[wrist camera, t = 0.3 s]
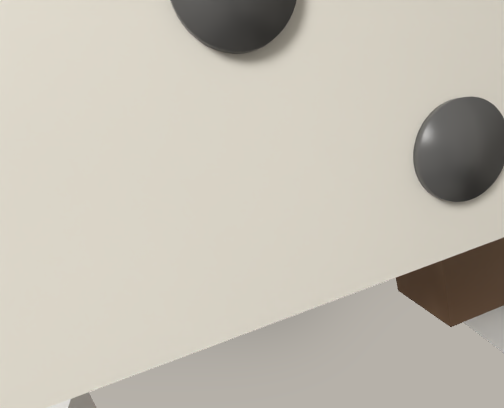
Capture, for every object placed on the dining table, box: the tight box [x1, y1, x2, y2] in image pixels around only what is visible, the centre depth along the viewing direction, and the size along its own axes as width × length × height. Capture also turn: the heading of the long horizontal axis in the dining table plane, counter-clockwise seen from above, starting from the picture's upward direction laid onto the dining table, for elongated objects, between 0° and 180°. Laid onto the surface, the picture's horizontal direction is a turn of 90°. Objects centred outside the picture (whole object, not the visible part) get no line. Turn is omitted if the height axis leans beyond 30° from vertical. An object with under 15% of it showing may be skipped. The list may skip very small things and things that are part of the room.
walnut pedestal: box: [396, 237, 504, 327], centre depth 22 cm, size 12×16×30 cm
